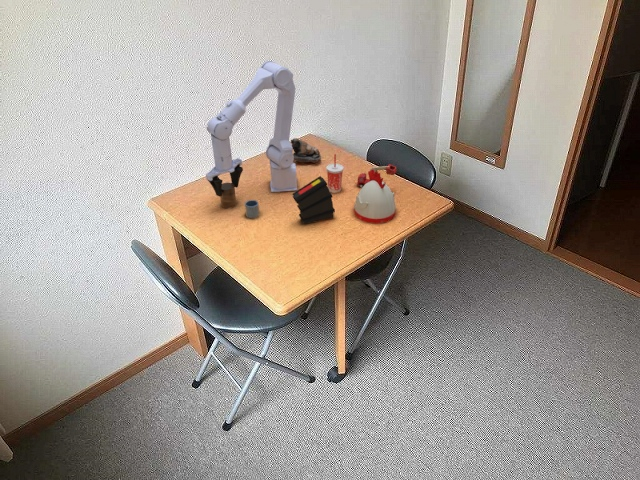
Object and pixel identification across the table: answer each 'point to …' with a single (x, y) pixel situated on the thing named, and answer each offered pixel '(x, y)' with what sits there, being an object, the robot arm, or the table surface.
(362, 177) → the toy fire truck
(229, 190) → the walnut chip
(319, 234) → the table surface
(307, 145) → the bison figurine
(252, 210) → the plastic cup
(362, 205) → the kitchen timer
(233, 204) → the oak chip bottom
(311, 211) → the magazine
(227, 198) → the disc
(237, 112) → the robot arm
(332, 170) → the beverage cup
